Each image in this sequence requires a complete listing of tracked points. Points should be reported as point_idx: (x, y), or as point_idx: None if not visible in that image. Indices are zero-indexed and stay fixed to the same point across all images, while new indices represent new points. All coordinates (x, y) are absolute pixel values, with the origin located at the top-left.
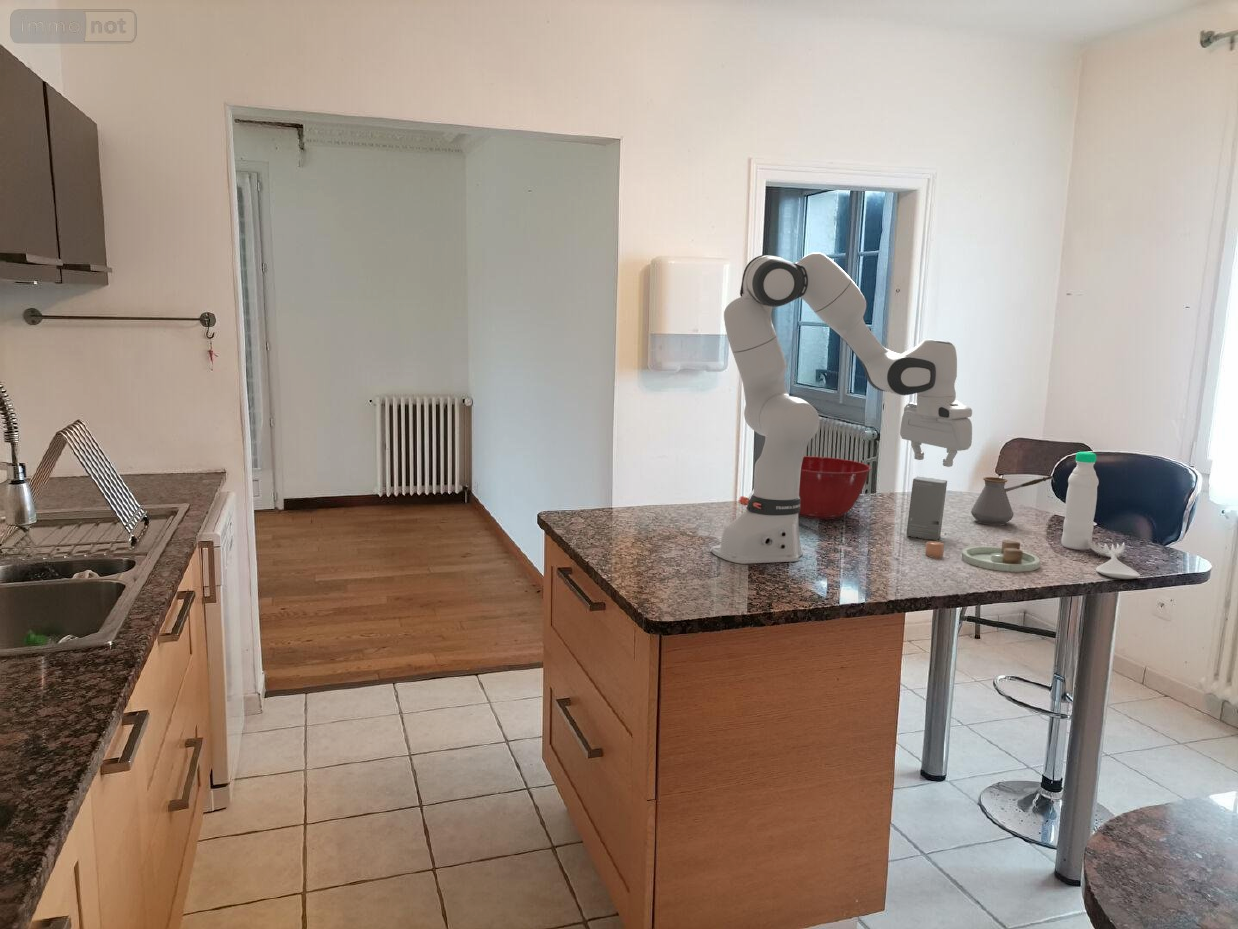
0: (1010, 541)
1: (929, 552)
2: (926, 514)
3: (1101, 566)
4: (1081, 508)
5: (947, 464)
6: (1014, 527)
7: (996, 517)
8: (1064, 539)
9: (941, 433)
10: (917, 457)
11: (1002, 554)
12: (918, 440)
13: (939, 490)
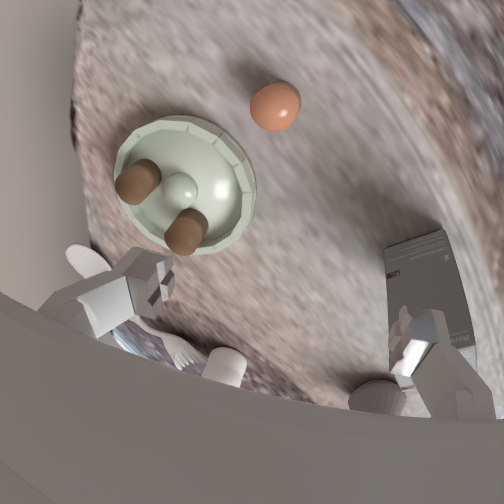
0: (185, 247)
1: (274, 84)
2: (416, 280)
3: None
4: None
5: (128, 253)
6: (342, 387)
7: (360, 390)
8: (231, 357)
9: (9, 439)
10: (417, 314)
11: (180, 203)
12: (411, 432)
13: None
